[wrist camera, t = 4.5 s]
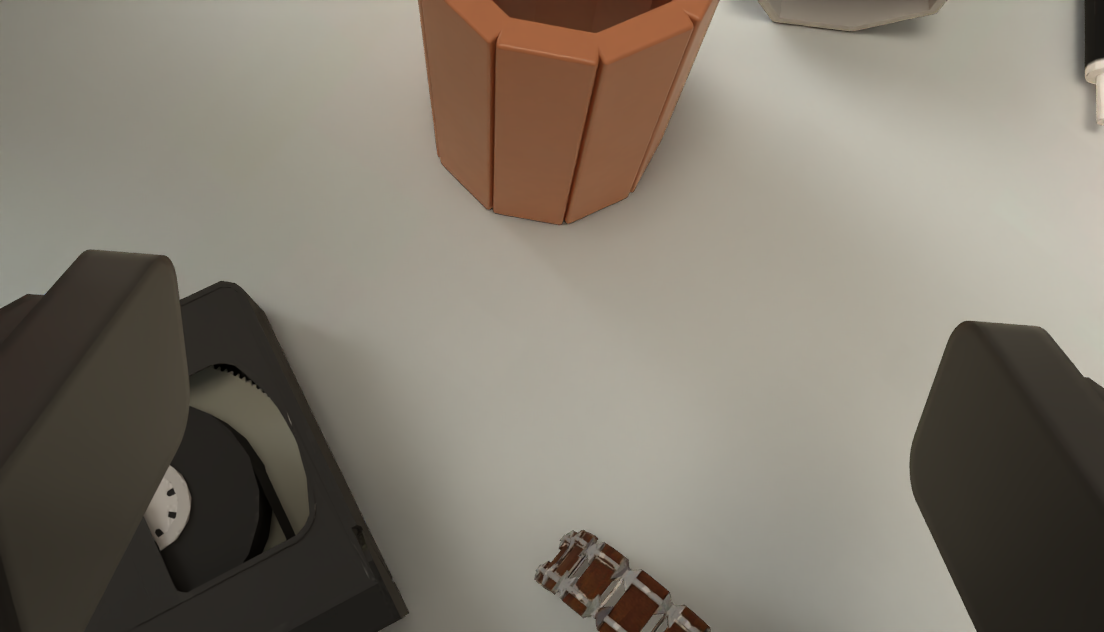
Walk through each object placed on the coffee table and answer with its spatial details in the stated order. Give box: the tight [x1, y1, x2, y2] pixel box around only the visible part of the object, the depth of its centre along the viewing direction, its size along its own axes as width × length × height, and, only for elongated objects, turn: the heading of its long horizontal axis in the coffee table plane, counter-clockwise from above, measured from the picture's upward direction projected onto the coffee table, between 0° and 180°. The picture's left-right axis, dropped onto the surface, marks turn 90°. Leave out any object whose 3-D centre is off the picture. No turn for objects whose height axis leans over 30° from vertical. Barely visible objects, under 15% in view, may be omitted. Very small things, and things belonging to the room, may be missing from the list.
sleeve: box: [418, 0, 720, 225], centre depth 21 cm, size 6×6×8 cm
